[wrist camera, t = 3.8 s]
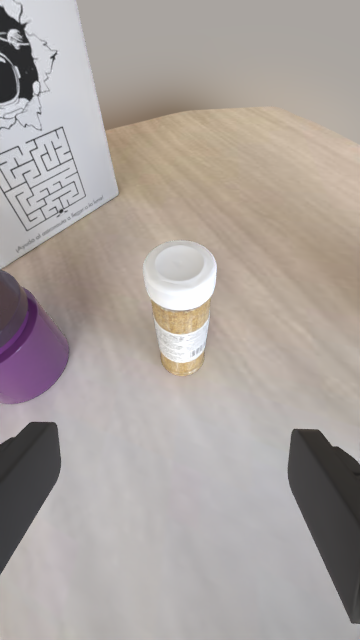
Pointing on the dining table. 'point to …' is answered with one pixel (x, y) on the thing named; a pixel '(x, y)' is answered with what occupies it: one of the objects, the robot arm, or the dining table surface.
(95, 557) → the dining table surface
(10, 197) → the cereal box
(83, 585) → the dining table surface
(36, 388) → the plum jar
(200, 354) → the sprinkles bottle
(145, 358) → the dining table surface
